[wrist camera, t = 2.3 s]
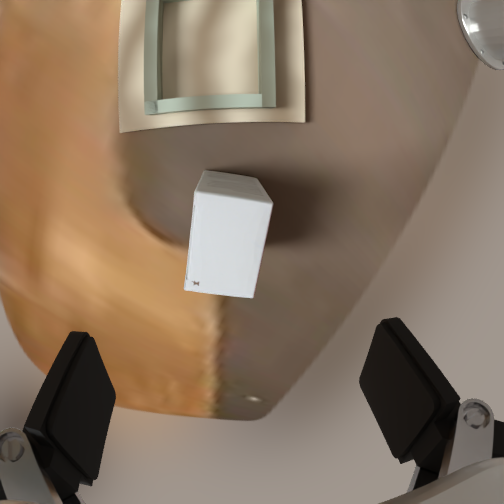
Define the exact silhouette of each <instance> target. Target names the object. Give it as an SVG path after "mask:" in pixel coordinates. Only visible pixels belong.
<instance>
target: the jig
mask: <svg viewBox="0 0 504 504" xmlns="http://www.w3.org/2000/svg"><path fill="white" fill-rule="evenodd" d="M118 102H119V125H120V133H124V132H131V131H138V130H145V129H153V128H162V127H172V126H182V125H194V124H209V123H229V122H305V71H304V40H303V19H302V2H301V0H122V2H121V14H120V28H119V50H118Z"/></svg>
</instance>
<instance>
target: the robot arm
mask: <svg viewBox="0 0 504 504" xmlns="http://www.w3.org/2000/svg"><path fill="white" fill-rule="evenodd" d="M457 13H458V19H459V23H460V26H461V29H462V31H463V34H464V36H465V38H466V40H467V42H468V43H469V45H470V47H471V48H472V50H473V51H474V53H475V54H476V55H477V56H478V57H479V59H480V60H481V61H482V62H483V63H484V64H486V65H487V66H489V67H490V68H492V69H495V70H504V0H458V3H457ZM359 383H360V387H361V389H362V391H363V393H364V395H365V397H366V399H367V402H368V404H369V405H370V408H371V410H372V412H373V414H374V416H375V418H376V420H377V422H378V425H379V427H380V429H381V431H382V433H383V435H384V437H385V439H386V442H387V444H388V446H389V448H390V450H391V453H392V455H393V456H394V457H395V458H398V459H399V462H400V464H402V463H405V462H408V461H410V460H413V459H414V460H415V462H416V467H415V471H414V474H413V477H412V479H411V482H410V485H409V488H408V491H407V493H406V494H403V495H401V496H398V497H396V498H393V499H390V500H387V501H385V502H382V503H379V504H504V422H501V421H497V420H494V415H493V412H492V410H491V408H490V407H489V406H488V405H487V404H486V403H485V402H483V401H481V400H479V399H468V400H466V401H464V402H463V403H462V404H460V403H459V400H460V397H459V395H458V394H457V393H456V392H455V390H454V388H453V387H452V386H451V384H450V383H449V382H448V380H447V379H446V377H445V376H444V375H443V373H442V372H441V371H440V369H439V368H438V367H437V365H436V364H435V363H434V361H433V360H432V359H431V357H430V356H429V355H428V353H427V352H426V351H425V350H424V348H423V347H422V346H421V345H420V343H419V342H418V341H417V339H416V338H415V337H414V336H413V334H412V333H411V332H410V330H409V329H408V328H407V327H406V326H405V324H404V323H403V322H402V321H401V319H400V318H397V317H395V318H389V319H383V320H382V321H381V322H380V324H378V325H377V327H376V330H375V333H374V336H373V339H372V343H371V346H370V349H369V352H368V355H367V358H366V361H365V364H364V367H363V370H362V373H361V375H360V380H359ZM115 399H116V394H115V390H114V388H113V385H112V383H111V381H110V378H109V376H108V373H107V371H106V369H105V366H104V364H103V361H102V359H101V356H100V353H99V351H98V348H97V345H96V342H95V340H94V338H93V337H90V335H89V334H88V333H87V332H76V331H72V332H70V333H69V335H68V337H67V339H66V340H65V342H64V344H63V346H62V348H61V350H60V351H59V353H58V355H57V357H56V359H55V361H54V363H53V365H52V367H51V369H50V371H49V373H48V375H47V377H46V379H45V381H44V383H43V385H42V387H41V389H40V391H39V393H38V395H37V398H36V400H35V402H34V404H33V406H32V409H31V411H30V413H29V416H28V418H27V420H26V423H25V425H24V428H23V431H21V430H19V429H17V428H7V429H4V430H3V431H1V432H0V504H85V502H84V501H83V499H82V497H81V496H80V494H79V492H78V488H79V483H80V484H84V485H89V486H92V483H93V480H96V479H97V477H98V474H99V468H100V464H101V459H102V454H103V449H104V445H105V440H106V436H107V431H108V427H109V423H110V419H111V415H112V411H113V407H114V404H115Z"/></svg>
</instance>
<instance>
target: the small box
mask: <svg viewBox="0 0 504 504" xmlns="http://www.w3.org/2000/svg"><path fill="white" fill-rule="evenodd" d="M273 205H274V204H273V202H272V200H271V199H270V197H269V196H268V194H267V193H266V191H265V190H264V188H263V187H262V185H261V184H260V182H259V181H258V179H257V178H254V177H249V176H243V175H237V174H230V173H223V172H216V171H208V170H204V172H203V174H202V177H201V179H200V181H199V183H198V185H197V187H196V190H195V192H194V203H193V214H192V224H191V233H190V242H189V251H188V261H187V269H186V277H185V284H184V290H187V291H194V292H202V293H210V294H218V295H227V296H236V297H246V298H254V295H255V290H256V286H257V281H258V276H259V271H260V267H261V262H262V257H263V252H264V248H265V243H266V238H267V233H268V228H269V224H270V219H271V213H272V209H273Z"/></svg>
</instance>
